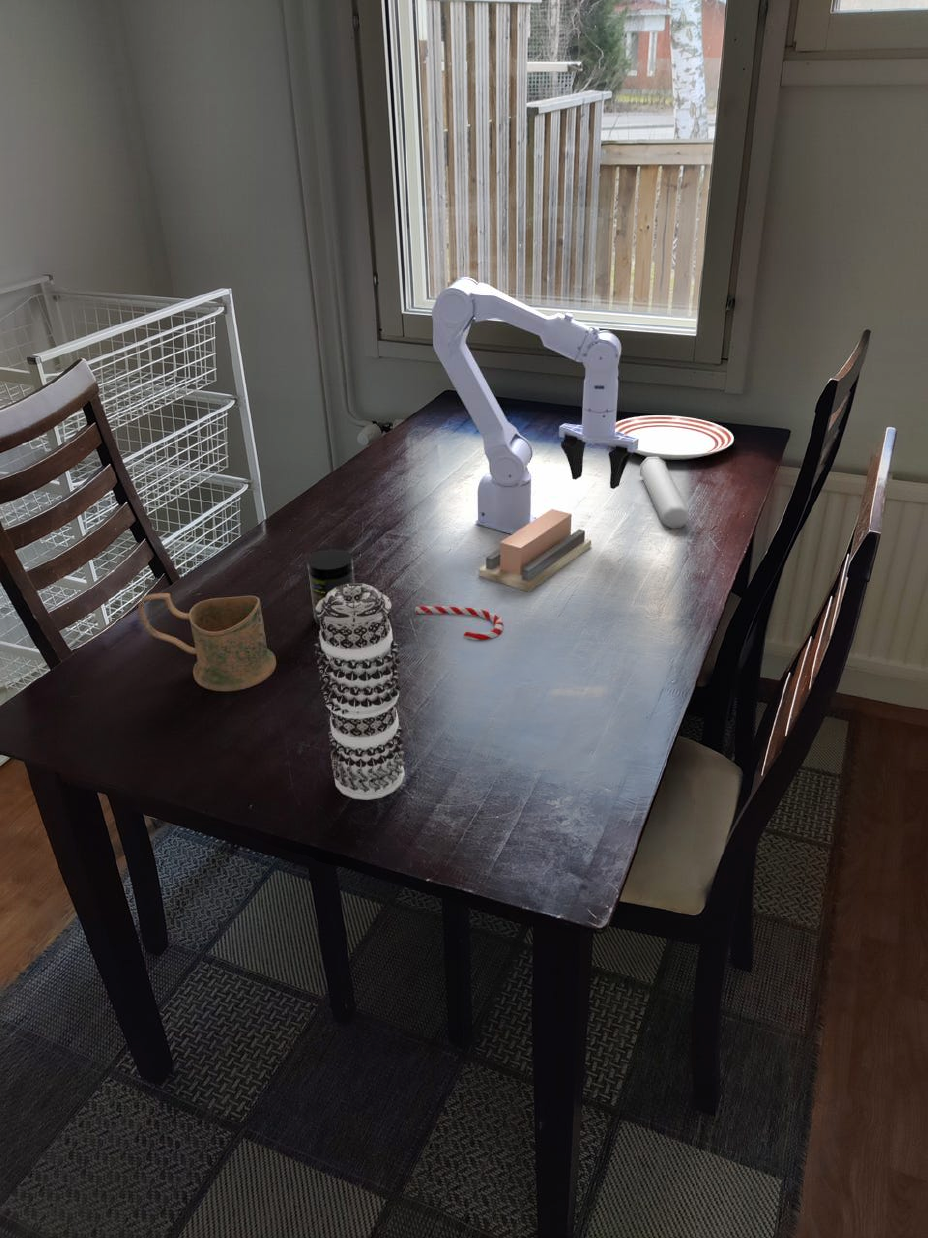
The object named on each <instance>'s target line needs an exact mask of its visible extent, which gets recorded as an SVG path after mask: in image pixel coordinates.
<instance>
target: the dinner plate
mask: <svg viewBox="0 0 928 1238" xmlns="http://www.w3.org/2000/svg"><path fill="white" fill-rule="evenodd" d="M615 430H616V431H618V432H621V433H623V434H626V435H628V436H631V437H634V438H638V439H639V442H638V449H637V450H636V451H634V453H636V454H638V455H641V456H644V457H646V458H647V457H659V458H660V459H662V460H668V461H669V460H670V461H673V460H674V461H675V460H677V461H679V460H680V461H681V460H682V461H683V460H690V459H691V460H692V459H695V458H696V459H697V458H700V457H704V456H710V455H712V454H715V453H719V452H721V451H724V450H725V449H727V448H729V447H730V446H731V445H733V443H734V440H735V439H734V435H733V433H732V432H731V431H730V430H728V429H727V428H726V427H723V426H722V425H721V424H720V425H719V424H717V423H715V422H711V421H708V420H703V419H698V418H694V417H688V416H681V415H680V416H679V415H661V414H660V415H659V414H658V415H657V414H656V415H655V414H654V415H640V416H633V417H628V418H625V419H624V418H623V419H621V420H618V421H616V425H615Z"/></svg>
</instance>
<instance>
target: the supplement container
mask: <svg viewBox="0 0 928 1238" xmlns="http://www.w3.org/2000/svg"><path fill="white" fill-rule="evenodd" d="M306 563H307V572H308V577H309V585H310V593H311V594H310V595H311V600H312V601H311V602H312V611H313V617H314V618H313V619H314V620H315V622H316V624H318V625H319V626H320V620H319V617H318V616H317V615H316V609H315V608H316V606H317V604H318V603H319V601H320V600H322V599H323V598H325V597H326V595H327V594H328V592H329V591H331V590H333V589H334V588H336V587H338V586H341V585H344V584H351V583H355V575H354V562H353V555H352V554H351V553H350V552H348V551H347V550H343V549H339V548H338V549H337V548H336V549H335V548H328V549H322V550H319V551H316V552H314V553H312V554H311V555H309V556H308V558H307V560H306Z"/></svg>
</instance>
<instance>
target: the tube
mask: <svg viewBox="0 0 928 1238" xmlns="http://www.w3.org/2000/svg"><path fill="white" fill-rule="evenodd" d="M639 476H640V477H641V479H642V480H643V483H644V485H645V487H646V489H647V492H648V494H649V496H650V498H651V501H652V503H653V505H654V507H655V510H656V512H657V514H658V517H659V519H660V522H661V523H662V524H663V525H665V526H666V528H667V527H668V528H669V529H681V528H682V527H683V526H684V525H686V523H687V522H688V520H689V508H688V507H687V505H686V503H685V501H684V499H683V497H682V494H681V493H680V491H679V489H678V487H677V485H676V483H675V481H674V479H673V478H672V475H671V473H670V471H669V469H668V467H667V463H666V461H665V460H664V459H660V458H659V457H647V456H646V458H645V459H644V460H643V461H642V462H641V464H640V465H639Z"/></svg>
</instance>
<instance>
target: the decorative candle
mask: <svg viewBox="0 0 928 1238" xmlns="http://www.w3.org/2000/svg"><path fill="white" fill-rule="evenodd" d="M392 605H393V604H392V602H391V599H390V598H389V597H388V596H387V595H385V594H384V593H383V592H380V590H378V589H377V588H375V587H374V586H372V585H369V584H367V583H360V582H359V583H358V582H356V583H355V582H354V583H351V584H344V585H341V586H338V587H336V588H334V589H333V590H331V591H329V592H328V594H327V595H326V597H325V598H323V599H322V600H320V601H319V603H318V604H317V606H316V608H315V609H316V615H317V616H318V617H319V620H320V625H319V626H320V630H319V631H318V633H319V636H318V639H319V641H316V642H314V646H315V647H316V649H315V651H314V655H315V656H316V657H317V659H316V663H317V664H318V672H319V673H320V677H319V681H320V683H322V684H321V686H320V687H321V690H322V691H323V692H322V697H323V698H324V704H325V706H326V707H327V708H328V710H330V717H329V724H330V730H329V731H328V734H327V735H328V737H329V747H330V749H331V750H330V759H331V767H332V768H331V769H332V771H333V778H334V783H335V787H336V788H337V789H338V791H340V793H341V794H343V795H345V796H347V797H349V798H352V799H354V800H366V801H368V800H374V799H381V798H383V797H386V796H388V795H390V794H392V793H394V792H395V791H396V790H397V789H398V788H399V787H400V786H401V785H402V784H403V782H404V778H405V775H406V773H405V772H406V771H405V769H404V766H405V765H406V763H405V761H403V757H404V755H405V752H404V751H403V750H402V748H403V743H404V739H403V738H402V733H403V728H402V727H401V721H400V720H399V715H398V711H397V701H398V699H399V696H400V690H401V686H400V684H399V678H400V672H399V671H398V667H399V664H400V663H401V661H400V658H399V657H398V654H399V650H400V646H399V644H397V642H396V640H395V639H394V638H393V630H392V629H393V628H392V626H391V623H390V613H389V612H390V610H391V608H392V607H393V606H392ZM323 652H324V653H323Z"/></svg>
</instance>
